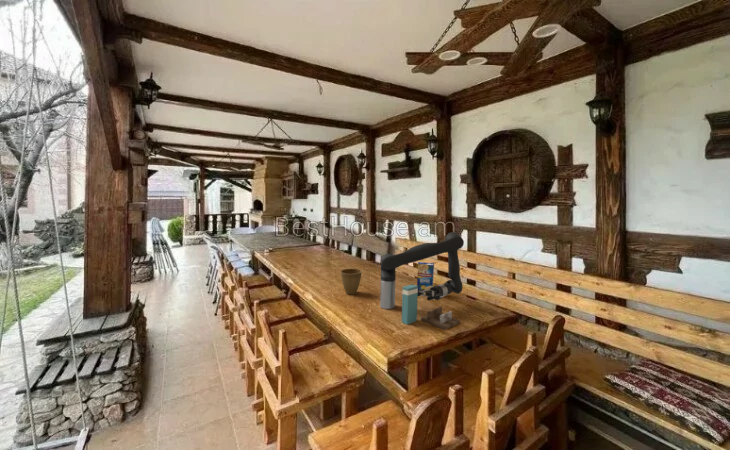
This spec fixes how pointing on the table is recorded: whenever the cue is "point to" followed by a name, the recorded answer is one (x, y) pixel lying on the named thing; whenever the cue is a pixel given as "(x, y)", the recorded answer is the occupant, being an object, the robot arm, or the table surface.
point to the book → (409, 304)
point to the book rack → (440, 319)
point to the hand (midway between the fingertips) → (421, 296)
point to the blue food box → (425, 275)
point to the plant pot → (351, 280)
